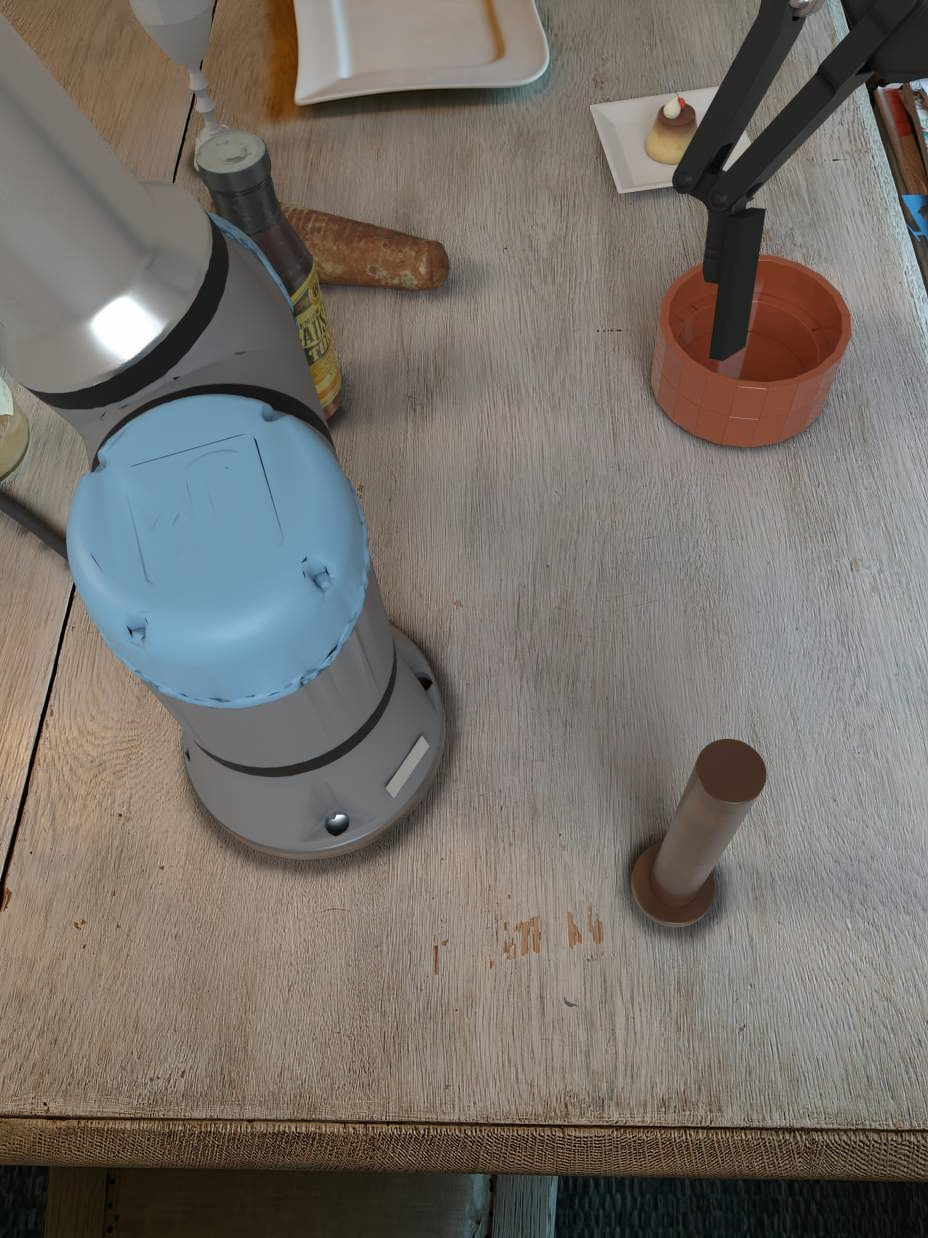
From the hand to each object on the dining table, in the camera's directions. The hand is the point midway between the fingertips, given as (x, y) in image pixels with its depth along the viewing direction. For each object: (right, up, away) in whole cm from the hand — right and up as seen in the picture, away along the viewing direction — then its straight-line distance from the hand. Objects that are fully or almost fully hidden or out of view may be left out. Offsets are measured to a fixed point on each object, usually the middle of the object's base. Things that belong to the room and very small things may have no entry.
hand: (866, 379), depth 44 cm
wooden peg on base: (-7, -25, +8) cm, 28 cm away
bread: (-29, +17, +33) cm, 47 cm away
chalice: (-40, +30, +41) cm, 65 cm away
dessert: (-1, +29, +37) cm, 47 cm away
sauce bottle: (-30, +5, +26) cm, 40 cm away
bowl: (+1, +6, +24) cm, 25 cm away
